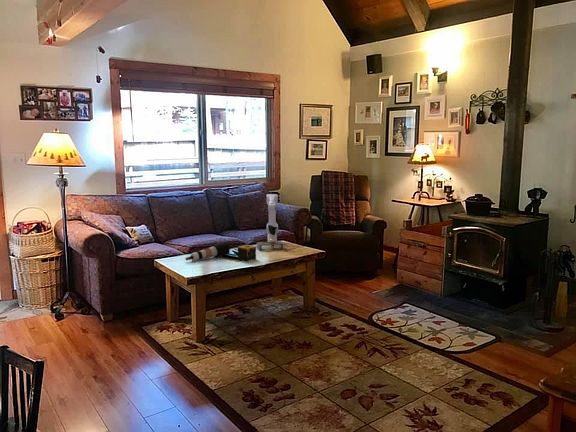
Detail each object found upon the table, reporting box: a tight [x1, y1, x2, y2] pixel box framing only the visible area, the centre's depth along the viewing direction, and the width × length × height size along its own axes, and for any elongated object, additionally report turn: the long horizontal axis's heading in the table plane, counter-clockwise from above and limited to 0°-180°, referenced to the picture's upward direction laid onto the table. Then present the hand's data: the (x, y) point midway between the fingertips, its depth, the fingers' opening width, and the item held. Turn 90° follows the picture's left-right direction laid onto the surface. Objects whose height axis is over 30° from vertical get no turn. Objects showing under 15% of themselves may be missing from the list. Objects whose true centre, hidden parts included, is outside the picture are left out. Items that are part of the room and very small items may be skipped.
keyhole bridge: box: [256, 240, 284, 252], centre depth 390 cm, size 10×20×5 cm, turn 106°
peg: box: [270, 239, 275, 249], centre depth 390 cm, size 4×4×7 cm
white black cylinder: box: [185, 241, 231, 262], centre depth 357 cm, size 10×34×10 cm, turn 128°
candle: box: [237, 244, 257, 262], centre depth 354 cm, size 10×10×10 cm
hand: (272, 234), depth 396 cm, fingers open, 7 cm apart
